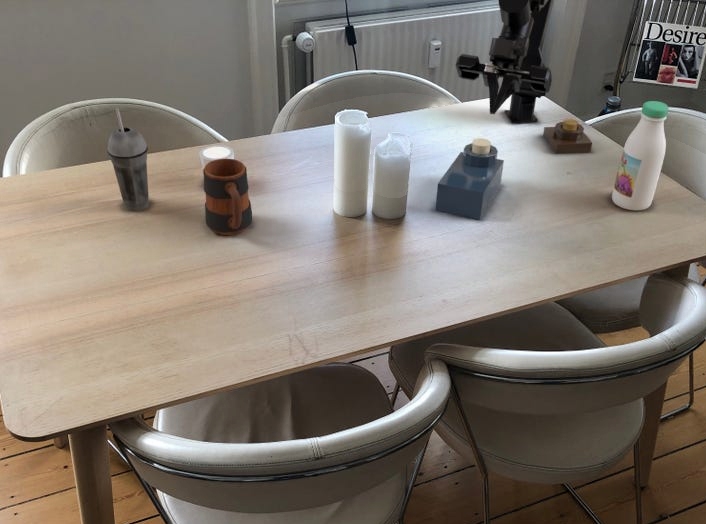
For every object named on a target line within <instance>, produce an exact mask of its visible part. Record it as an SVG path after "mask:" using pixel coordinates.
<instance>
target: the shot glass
mask: <svg viewBox="0 0 706 524" xmlns="http://www.w3.org/2000/svg"><path fill="white" fill-rule="evenodd" d="M198 154H199V159H200V165H201V169H202V170H203V169H204V167H205V166H206V164H208V163H209V162H211V161H213V160H217V159H235V150H234V148H232V147H231V146H227V145H223V144H215V145H209V146H205V147H204V148H201V149H200V151H199V152H198Z"/></svg>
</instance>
